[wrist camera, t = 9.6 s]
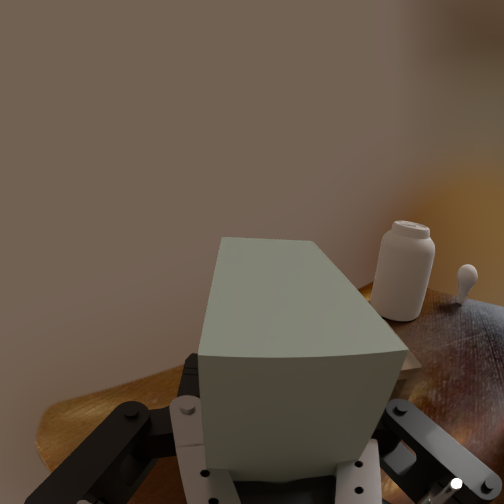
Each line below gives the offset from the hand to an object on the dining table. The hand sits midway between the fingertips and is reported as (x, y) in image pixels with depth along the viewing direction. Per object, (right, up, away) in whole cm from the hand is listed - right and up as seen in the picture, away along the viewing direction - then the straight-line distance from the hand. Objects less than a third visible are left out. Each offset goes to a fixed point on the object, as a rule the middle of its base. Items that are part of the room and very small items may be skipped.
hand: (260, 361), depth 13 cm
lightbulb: (+55, -9, +51) cm, 75 cm away
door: (0, -8, -1) cm, 8 cm away
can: (+32, -8, +48) cm, 59 cm away
